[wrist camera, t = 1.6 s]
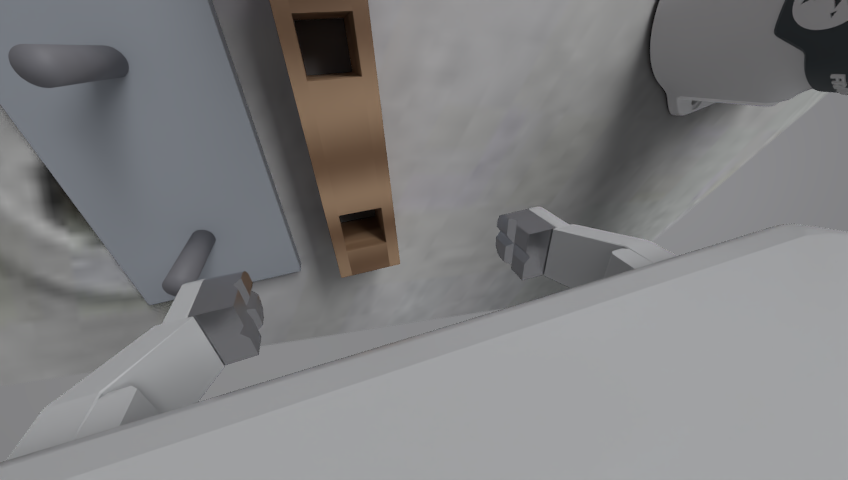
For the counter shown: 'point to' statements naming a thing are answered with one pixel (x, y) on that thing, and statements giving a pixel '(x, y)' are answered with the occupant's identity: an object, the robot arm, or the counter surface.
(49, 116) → the post board
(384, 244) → the walnut strip
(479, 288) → the counter surface
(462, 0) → the counter surface
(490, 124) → the counter surface
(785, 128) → the counter surface
